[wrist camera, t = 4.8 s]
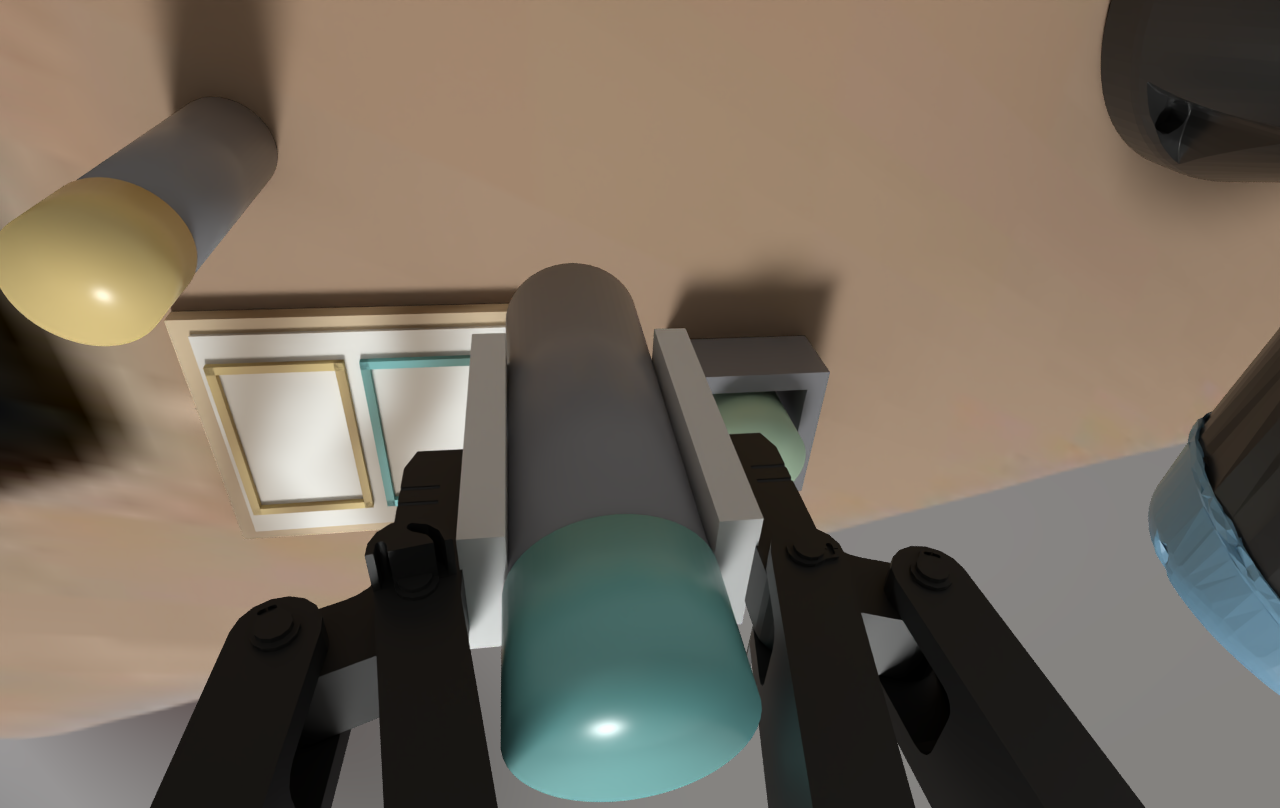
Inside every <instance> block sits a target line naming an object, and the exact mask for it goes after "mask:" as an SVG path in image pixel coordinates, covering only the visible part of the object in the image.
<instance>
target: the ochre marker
mask: <svg viewBox="0 0 1280 808" xmlns="http://www.w3.org/2000/svg"><path fill="white" fill-rule="evenodd" d="M276 166H277V148H276V144H275V141H274V138H273V136H272V134H271V132H270V131H269V129H268V128H267V126H266V125H265V123H264V122H263V121H262V120H261V119H260V118H259V117H258V116H257V115H256V114H255V113H254V112H252V111H251V110H249V109H248V108H246V107H245V106H243V105H241V104H239V103H237V102H235V101H232V100H229V99H225V98H219V97H206V98H200V99H197V100H194V101H193V102H191V103H189V104H187V105H186V106H184V107H183V108H181V109H180V110H179V111H177V112H176V113H174V114H173V115H171V116H170V117H168V118H167V119H165V120H164V121H162V122H161V123H159V124H158V125H157V126H155V127H154V128H152V129H151V130H149V131H148V132H146V133H145V134H143V135H142V136H140V137H139V138H137V139H136V140H134V141H133V142H132V143H130V144H129V145H127V146H126V147H124V148H123V149H121V150H120V151H118V152H117V153H115V154H114V155H112V156H111V157H110V158H108V159H107V160H105V161H104V162H102V163H101V164H99V165H98V166H96V167H95V168H93V169H92V170H90V171H89V172H87V173H86V174H85V175H83V176H82V177H80V178H79V179H77V180H76V181H73V182H70V183H68V184H67V185H65V186H63V187H61V188H60V189H58V190H57V191H55V192H54V193H52V194H51V195H49V196H48V197H47V198H45V199H44V200H42V201H41V202H39V203H38V204H36V205H35V206H33V207H32V208H30V209H29V210H27V211H26V212H24V213H23V214H21V215H20V216H18V217H17V218H15V219H14V220H12V221H11V222H10V223H8V224H7V225H6V226H5V227H4V228H3V229H2V230H1V231H0V288H1V290H2V291H3V293H4V294H5V296H6V297H7V298H8V300H9V301H10V302H11V303H12V304H13V305H14V306H15V308H16V309H17V310H18V311H20V312H21V313H22V314H23V315H24V316H25V317H27V318H28V319H29V320H31V321H32V322H33V323H35V324H36V325H38V326H40V327H41V328H43V329H45V330H46V331H48V332H50V333H52V334H54V335H57V336H59V337H62V338H64V339H67V340H71V341H74V342H77V343H82V344H87V345H95V346H115V345H122V344H127V343H130V342H133V341H136V340H138V339H140V338H142V337H144V336H145V335H146V334H148V333H149V332H150V331H151V330H152V329H153V328H154V327H155V326H156V325H157V324H158V323H159V321H160V320H161V319H162V318H163V316H164V315H165V314H166V313H167V311H168V310H169V309H170V307H171V306H172V305H173V304H174V302H175V301H176V300H177V299H178V297H179V296H180V295H181V294H182V292H183V291H184V290H185V289H186V287H187V286H188V285H189V283H190V282H191V280H192V279H193V276H194V274H195V273H196V272H197V270H198V269H199V268H200V266H201V265H202V264H203V263H204V261H205V260H206V259H207V258H208V256H209V255H210V254H211V253H212V251H213V250H214V249H215V248H216V246H217V245H218V244H219V243H220V241H221V240H222V239H223V238H224V236H225V235H226V234H227V233H228V231H229V230H230V229H231V228H232V226H233V225H234V224H235V223H236V221H237V220H238V219H239V218H240V216H241V215H242V214H243V213H244V211H245V210H246V209H247V208H248V206H249V205H250V204H251V203H252V201H253V200H254V199H255V198H256V196H257V195H258V194H259V193H260V191H261V190H262V189H263V188H264V186H265V185H266V184H267V183H268V181H269V180H270V179H271V177H272V176H273V174H274V172H275V169H276Z"/></svg>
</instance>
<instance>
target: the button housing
mask: <svg viewBox="0 0 1280 808" xmlns="http://www.w3.org/2000/svg"><path fill="white" fill-rule="evenodd" d="M690 341H691V343H692V346H693V348H694V351H695V353H696V355H697V358H698V360H699V363H700V365H701V368H702V370H703V372H704V375H705V377H706V380H707V382H708V385H709V387H710V389H711V392H712V394H722V393H744V392H766V391H776V394H777V395H778V397H779V399H780V401H781V403H782V404H783V406H784V408H785V410H786V412H787V413H788V415H789V417H790V419H791V421H792V422H793V424H794V426H795V428H796V430H797V431H798V433H799V435H800V437H801V439H802V440H803V443H804V445H805V450H806V457H805V463H804V466H803V468H802V470H801V472H800V474H799V475H798V477H797V478H796V479H795V481H794V484H795V486H796V488H797V490H798V491H801V490H802V486H803V482H804V477H805V473H806V469H807V465H808V461H809V457H810V453H811V449H812V444H813V440H814V436H815V432H816V428H817V424H818V420H819V415H820V411H821V407H822V403H823V399H824V395H825V391H826V386H827V382H828V378H829V374H830V371H829V370H828V369H827V367H826V366H825V364H824V363H823V361H822V360H821V358H820V357H819V356H818V354H817V353H816V351H815V350H814V348H813V347H812V345H811V344H810V343H809V341H808V340H807V338H806V337H805V336H779V337H749V338H720V339H690Z"/></svg>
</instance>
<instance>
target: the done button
mask: <svg viewBox="0 0 1280 808" xmlns="http://www.w3.org/2000/svg"><path fill="white" fill-rule="evenodd" d="M713 397H714V399H715V402H716V404H717V406H718V409H719V411H720V414H721V416H722V419H723V421H724V423H725V426H726V428H727V431H728V433H729V434H742V433H761V434H762V435H763V436H765V437H766V438H767V439H768V440H769V441H770V442H771V443H773V444H774V445H775V446H776V447H777V449H778V451H779V453H780V455H781V457H782V459H783V461H784V463H785V467H787V469H788V471H789V473H790V475H791V480H792V481H793V482H794V481H795V479H796V478H797V477H798V475H799V474H800V472H801V470H802V468H803V466H804V463H805V457H806V450H805V445H804V443H803V440H802V439H801V437H800V435H799V433H798V431H797V430H796V428H795V426H794V424H793V422H792V421H791V419H790V417H789V415H788V413H787V412H786V410H785V408H784V406H783V404H782V403H781V401H780V399H779V397H778V395H777V394H776V392H775V391H766V392H744V393H722V394H713Z"/></svg>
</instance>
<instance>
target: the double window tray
mask: <svg viewBox="0 0 1280 808" xmlns="http://www.w3.org/2000/svg"><path fill="white" fill-rule="evenodd" d="M508 306H509V304H468V305H427V306H386V307H345V308H304V309H263V310H222V311H182V312H170V314H169V315H168V316H167V317H166V319H165V320H164V322H165V325H166V327H167V330H168V333H169V336H170V338H171V341H172V344H173V347H174V349H175V352H176V355H177V358H178V360H179V363H180V366H181V369H182V371H183V374H184V377H185V380H186V382H187V385H188V388H189V391H190V393H191V396H192V399H193V402H194V404H195V407H196V410H197V412H198V415H199V418H200V421H201V423H202V426H203V429H204V432H205V434H206V437H207V440H208V443H209V445H210V448H211V451H212V454H213V456H214V459H215V462H216V465H217V467H218V470H219V473H220V476H221V478H222V481H223V484H224V486H225V489H226V492H227V495H228V497H229V500H230V503H231V506H232V508H233V511H234V514H235V517H236V519H237V522H238V525H239V528H240V530H241V533H242V536H243V539H244V540H246V539H260V538H274V537H288V536H302V535H315V534H329V533H343V532H357V531H371V530H381V529H383V528H384V527H386V526H387V525H389V524H390V523H394V520H395V515H396V509H397V506H398V498H399V492H400V491H401V488H400V487H401V481H402V476H403V470H404V468H405V466H406V465H407V464H408V463H409V461H410V460H411V459H412V458H413V456H414V455H415V454H416V453H417V451H434V450H454V449H463V443H464V430H465V417H466V404H467V392H468V379H469V366H470V353H471V340H472V334H487V333H505V334H506V313H507V309H508Z"/></svg>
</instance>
